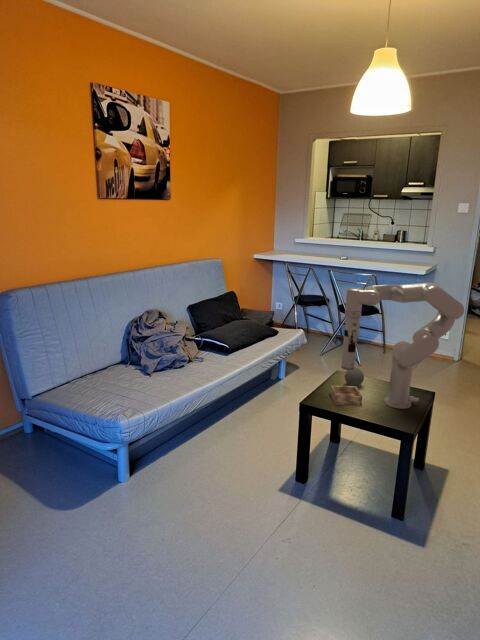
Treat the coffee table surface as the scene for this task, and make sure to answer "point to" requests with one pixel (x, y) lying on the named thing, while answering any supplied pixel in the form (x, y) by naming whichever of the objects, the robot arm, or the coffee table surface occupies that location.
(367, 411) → the coffee table surface
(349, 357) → the travel mug
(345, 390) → the open box
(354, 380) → the decorative ball
